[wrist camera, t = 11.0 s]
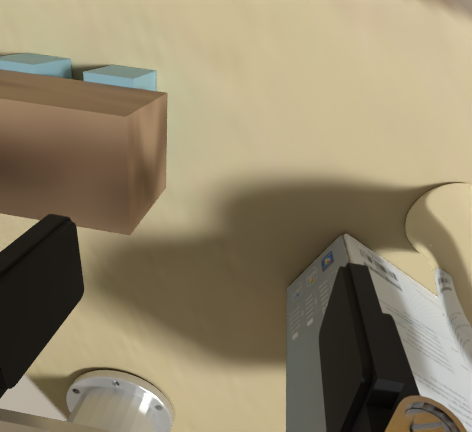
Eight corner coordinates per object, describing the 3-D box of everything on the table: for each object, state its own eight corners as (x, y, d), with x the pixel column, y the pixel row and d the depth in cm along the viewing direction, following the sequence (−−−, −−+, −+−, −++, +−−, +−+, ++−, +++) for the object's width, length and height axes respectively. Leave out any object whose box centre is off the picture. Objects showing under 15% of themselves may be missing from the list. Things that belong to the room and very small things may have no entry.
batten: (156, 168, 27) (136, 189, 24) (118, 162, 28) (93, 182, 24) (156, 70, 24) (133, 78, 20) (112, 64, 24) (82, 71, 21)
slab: (165, 187, 23) (129, 235, 18) (-8, 160, 24) (-90, 198, 19) (167, 92, 21) (125, 116, 15) (-30, 64, 21) (-133, 78, 16)
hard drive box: (282, 288, 31) (272, 623, 14) (343, 228, 28) (432, 575, 10) (415, 372, 34) (548, 743, 16) (486, 326, 30) (751, 738, 13)
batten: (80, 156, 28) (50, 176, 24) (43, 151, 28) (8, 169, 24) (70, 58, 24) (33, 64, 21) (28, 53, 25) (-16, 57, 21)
